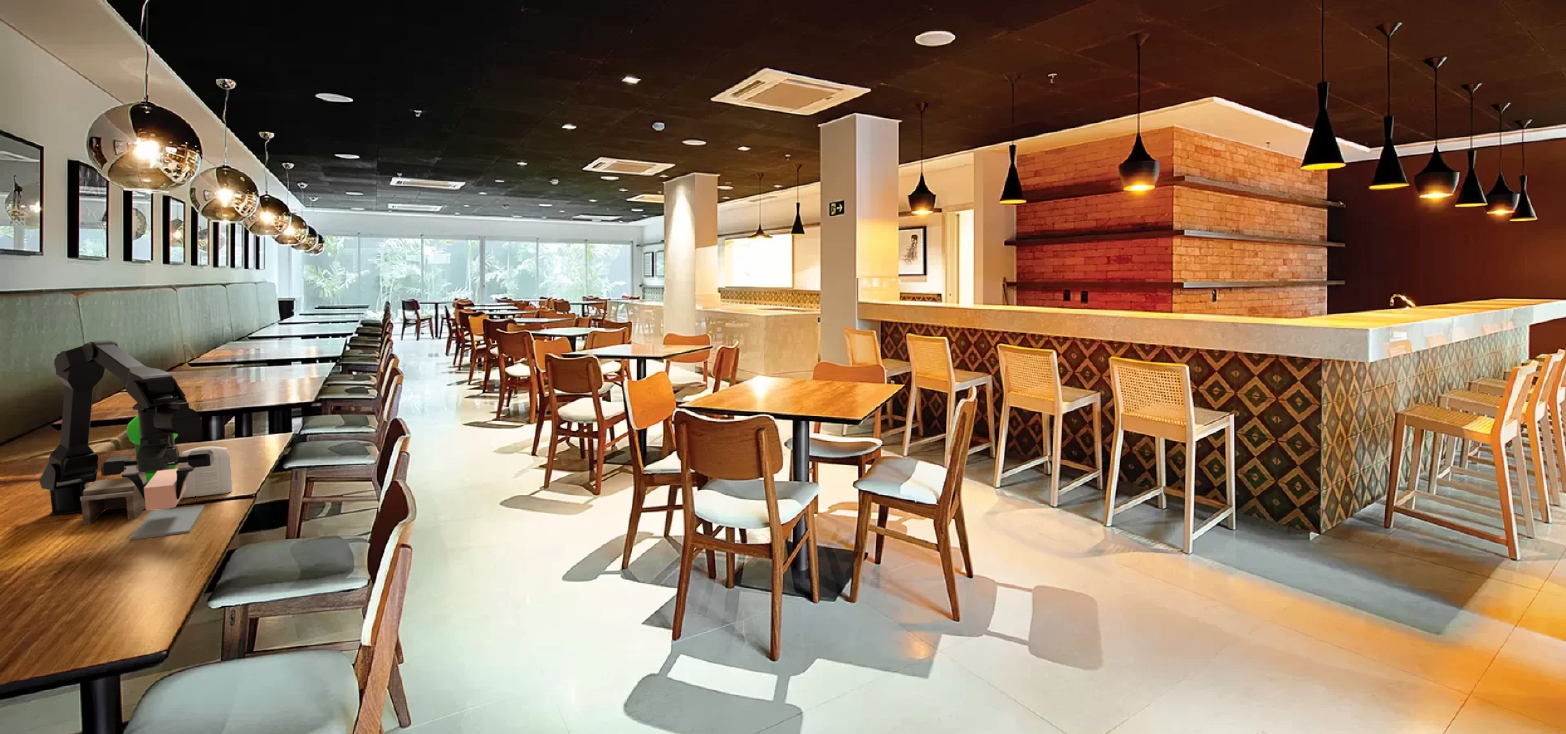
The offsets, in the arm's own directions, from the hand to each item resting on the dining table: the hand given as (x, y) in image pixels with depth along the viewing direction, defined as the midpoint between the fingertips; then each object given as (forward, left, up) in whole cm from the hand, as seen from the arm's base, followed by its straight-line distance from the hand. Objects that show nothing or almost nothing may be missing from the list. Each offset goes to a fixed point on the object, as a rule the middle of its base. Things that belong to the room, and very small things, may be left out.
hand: (162, 500), depth 171 cm
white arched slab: (+4, +28, -7) cm, 29 cm away
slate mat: (0, +5, -6) cm, 8 cm away
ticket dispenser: (-12, +17, -6) cm, 22 cm away
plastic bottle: (-7, +34, -7) cm, 36 cm away
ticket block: (0, +5, -1) cm, 5 cm away
